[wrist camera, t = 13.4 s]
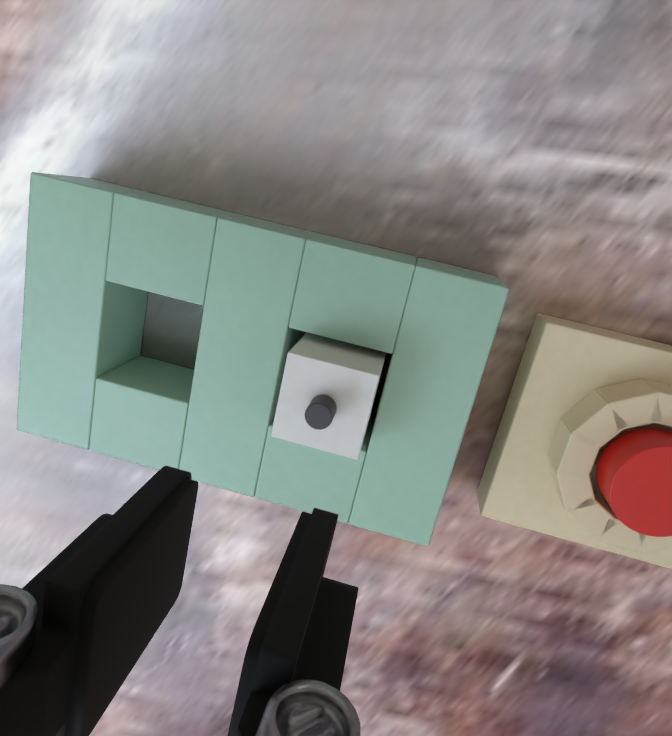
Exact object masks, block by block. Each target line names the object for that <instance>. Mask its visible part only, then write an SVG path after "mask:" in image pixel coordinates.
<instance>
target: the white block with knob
mask: <svg viewBox="0 0 672 736" xmlns="http://www.w3.org/2000/svg"><path fill="white" fill-rule="evenodd" d="M386 354H387V353H386V352H382V351H378V350H374V349H370V348H366V347H362V346H358V345H354V344H350V343H347V342H343V341H339V340H335V339H331V338H327V337H323V336H319V335H315V334H311V333H308V332H307V333H306V334H305V335H304V336H303V337H302V338H301V339H300V340H299V342H298V343H297V344H296V345H295V346H294V347H293V348H292V349H291V350H290V351H289V352H288V354H287V359H286V364H285V368H284V373H283V378H282V383H281V388H280V393H279V398H278V403H277V408H276V413H275V418H274V423H273V427H272V432H271V436H272V437H275V438H279V439H283V440H286V441H290V442H294V443H297V444H301V445H305V446H308V447H312V448H315V449H319V450H323V451H326V452H330V453H334V454H337V455H341V456H345V457H348V458H352V459H356V460H358V459H359V455H360V451H361V448H362V444H363V440H364V437H365V433H366V430H367V426H368V422H369V419H370V415H371V411H372V408H373V404H374V400H375V396H376V392H377V388H378V385H379V381H380V377H381V373H382V369H383V365H384V361H385V358H386Z"/></svg>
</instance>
